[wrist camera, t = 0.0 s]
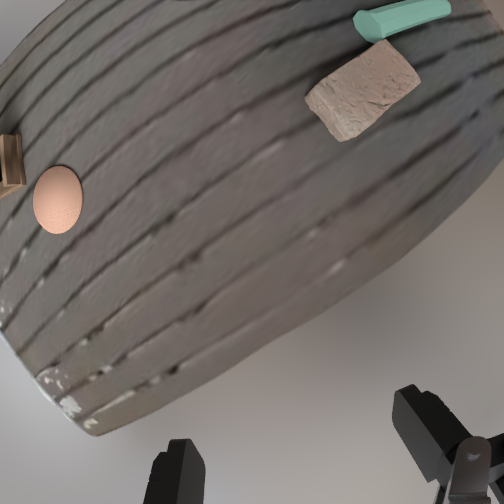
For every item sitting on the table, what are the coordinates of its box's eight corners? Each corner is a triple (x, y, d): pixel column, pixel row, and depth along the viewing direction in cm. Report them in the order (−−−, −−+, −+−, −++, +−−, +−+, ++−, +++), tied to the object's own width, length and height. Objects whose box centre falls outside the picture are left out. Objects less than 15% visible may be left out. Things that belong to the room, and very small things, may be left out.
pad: (30, 179, 33) (28, 179, 33) (76, 156, 33) (75, 156, 33) (42, 240, 35) (41, 240, 35) (89, 223, 35) (88, 223, 35)
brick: (341, 145, 35) (354, 140, 31) (299, 99, 34) (308, 88, 29) (408, 88, 34) (424, 80, 29) (373, 47, 32) (386, 35, 27)
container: (448, -10, 23) (370, 7, 25) (460, 17, 26) (388, 42, 28) (427, -7, 28) (346, 14, 30) (439, 17, 31) (364, 45, 33)
